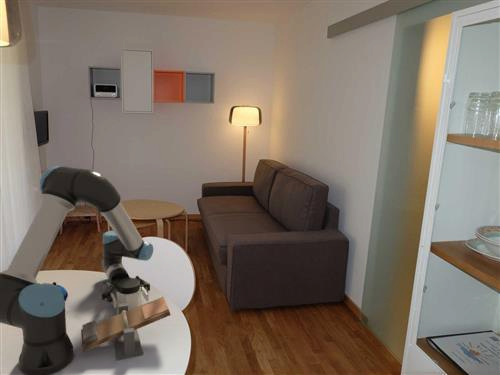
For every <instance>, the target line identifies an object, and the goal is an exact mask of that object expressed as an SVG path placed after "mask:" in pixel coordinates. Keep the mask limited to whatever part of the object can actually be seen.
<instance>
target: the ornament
mask: <svg viewBox="0 0 500 375" xmlns="http://www.w3.org/2000/svg"><path fill="white" fill-rule="evenodd" d="M52 284H53V285H56V286H58V287H59V288H60V289H61V290H62V292H63V296H64V300H65V302H66V301H67V300H68V298H69V297H68V296H69V293H68V291H67V289H66V288H65V287H63V286H62V285H60V284H57V282H55V281H53V282H52Z"/></svg>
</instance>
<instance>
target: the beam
mask: <svg viewBox="0 0 500 375" xmlns="http://www.w3.org/2000/svg"><path fill="white" fill-rule="evenodd" d="M170 316H171V312H170V309H169V307H168V304H167V302H166V300H165V297H164V296H162V297H159V298H156V299H154V300H151V301H148V302H146V303H144V304H141V306H139V307H136V308H134V309H131V310H129V311H126V310H122V311H121V314H119V315H118V314H117V315H114V316H112V317H109V318H106V319H104V320H102V321H99V322H96V320H95V319H94V320H91V321H90V322H89V321H88V322H87V323H84V324H82V328H81V329H80V331H81V332H80V333H81V334H80V335H81V349H82V351H83V352H86V351H89V350H90V349H93V348H96V347H98V346H100V345H103V344H105V343H108V342H109V341H112V340H113V339H115V338H117V337H120V336H122V335H124V329H129V328H134V330H136V329H137V330H139V329H140V328H143V327H145V326H148V325H150V324H153V323H156V322H157V321H158V322H159V321H160V320H163V319H165V318H167V317H170Z"/></svg>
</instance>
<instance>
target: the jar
mask: <svg viewBox="0 0 500 375" xmlns="http://www.w3.org/2000/svg"><path fill="white" fill-rule="evenodd" d="M135 278H136V277H130V278H126V279H122V280H120V281H119V282H118V283H117V290H118V291H117V292H116V301H117V308H116V310H117V312H116V313H117V315H119V310H118V304H123V303H127V304H128V311H129V310H131V309H134V308H136V307H139V306H141V305H142V292H141V287H140V281H139V280H138V279H135Z"/></svg>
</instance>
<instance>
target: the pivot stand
mask: <svg viewBox="0 0 500 375" xmlns="http://www.w3.org/2000/svg"><path fill="white" fill-rule="evenodd" d="M118 310H119V314H121V311H122V310H126V311H128V304H127V303H123V304H118ZM112 340H113V344H114V352H115V356H116V361H121V360H126V359H127V360H128V359H131V358H136V357H141V356H143V355H144V350H143V347H142V344H141V339H140V335H139V331H138V329H136V330H134V328H129V329H124V335H122V336H120V337H117V338H115V339H112Z"/></svg>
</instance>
